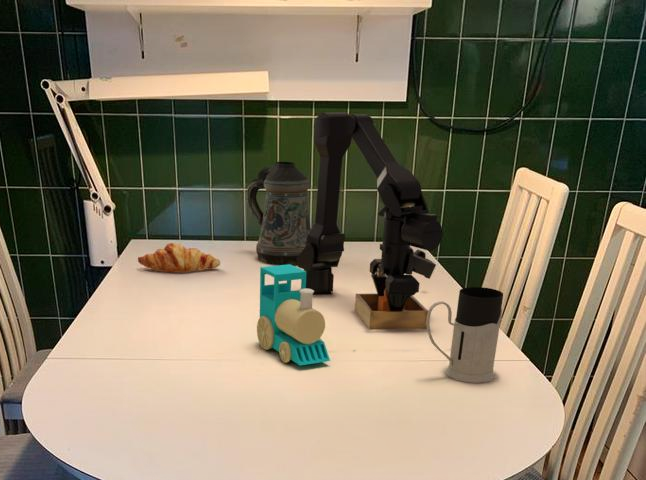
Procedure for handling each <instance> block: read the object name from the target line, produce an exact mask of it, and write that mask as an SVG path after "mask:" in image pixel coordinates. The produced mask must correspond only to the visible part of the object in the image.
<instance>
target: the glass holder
mask: <svg viewBox="0 0 646 480" xmlns="http://www.w3.org/2000/svg"><path fill="white" fill-rule="evenodd" d="M503 301H504V292H502V290H501V291H500V290H498V289H495V288H490V287H482V286H468V287H462V288H461V289H459V292H458V300H457V308H456V316H455V318H454V322H452V317H453V316H452V314H453V313H452V308H451V306H450V305H449V304H448V303H447V302H445V301H437V302H434V303H433V304H432V305H431V306H430V307H429V309H427V310H428V314H427V329H426V332H427V334H428V338H429V340H430V343H431V344H432V345H433V346H434V347H435V348H436V349H437V351H439V353H441V354H442V355H444V357H445V358H446V359H447V360H448V361H449V362H448V366H447V368H446V370H445V374H446V375H447V377H448V378H451V379H453V380H456V381H459V382H463V383H470V384H471V383H473V384H479V383H487V382H491V381H492V380H494V379H495V377H496V376H495V373H494V366H495V359H496V353H497V345H498V339H499V333H500V327H501V320H502V314H503V308H502V306H503ZM439 305H444V306H445V307H446V308H447V312H448V314H447V315H448V316H447V321H448V324H449V325H451V326H453V331H452V339H451V347H450V355H448V354H447V353H446V352H445V351H443V350H442V349H441V348H440V347H439V346H438V344H437V343H436V342H435V340H434V338H433V335H432V331H431V326H430V323H431V322H430V321H431V314H432V311H433V310H434V308H435V307H436V306H439Z"/></svg>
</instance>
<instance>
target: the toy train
mask: <svg viewBox="0 0 646 480" xmlns="http://www.w3.org/2000/svg"><path fill="white" fill-rule="evenodd" d="M259 270H260V271H259V318H258V320H257V324H256V335H257V340H258V342H259V345H260V347H261V348H262V349H263V350H266V351H267V350H271V349H274V350H275V351H276V352H277V353H279V357H280V359H281V361H282V362H283V363H285V364H286V363H289V362H290V361H292V362H294V363H295V364H296V365H298V366H306V365H311V364H313V365H314V364H319V363H326V362H331V359H330V355H329V353H328V352H329V351H328V349H327V346H326V343H325V341H324V340H323V339H322V338H321V337H322V336H323V334H324V332H325V329H326V319H325V316H324V315H323V314H322V313H321V312H320V310H319V311H318V310H317V309H316V308H313V297H314V295H313V293H314V290H312V289H306V271H304V269H302V268H299V267H298V266H296V265H295V266H293V265H291V264H288V265H269V266H260V269H259ZM266 275H268V276H270V277H272V278H273V284H265V283H266V282H265V281H266ZM298 280H301V282H300V289H299V290H292V281H298ZM280 282H281V283H280Z"/></svg>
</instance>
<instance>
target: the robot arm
mask: <svg viewBox="0 0 646 480" xmlns="http://www.w3.org/2000/svg"><path fill="white" fill-rule="evenodd" d="M352 140H353V142H354V143H355V144H356V147H357V148H358V149H359V151H360V153H361V154H362V156H363V157H364V159H365V161H366V162H367V165H368V166H369V167H370V169H371V170H372V172H373V174H374V175H375V178H376V191H377V192H378V195H379V197H380V200H381V202H382V203H383V205H384V207H382V208H381V209H380V210H379V211H378V212H377V216H379V217H382V218H384V222H383V232H382V243H380V244H379V250H380V251H381V257H380V258H373V260H372V261H371V262H370V263H369V270H368V271H369V273H370V276H371V279H372V282H373V285H374V287H375V290H376V294H378V297H379V296H384V290H385V288H386V290H385V293H386V297H387V301H388V305H389V309H390V311H402V310H403V307H404V305H405V302H406V300H407V299H408V298H409V297H410V296H415V295H416V294H417V293H419V291H420V282H419V280H418V279H416V278H415V277H414V276H413V273H414V274H415V273H416V274H418V275H421V276H423V277H424V278H426V279H428V280H430V279H431V278H432V275H433V273H434V272H435V271H434V270H435V268H436V266H437V264H436V263H435V262H434V261H432V260H430V259H429V258H427V255H426V252H425V251H428V252H431V251H435V250H436V249H437V248H438V247H439V246H440V245H441V243H442V240H443V236H444V231H443V227H442V225H441V223H440V222H439V221H438V215H437V214H435V213H430V210H429V208H428V203H427V202H426V199H425V197H424V194H423V191H422V185H421V183H420V181H419V179H418V178H417V177H416V176H415V174H413V172H412V171H411V170H409V169H408V168H406V167H404V166H402V165H401V164H400V163H399V162H398V161H397V160H396V158H395V156H394V155H393V153H392V152H391V150H390V149H389V147H388V145H387V144H386V141H384V139H383V138H382V136H381V134H380V132H379V131H378V130H377V127H376V126H375V124H374V120H373V118H372V116H371V115H368V114H367V113H364V114H363V113H360V114H359V113H357V114H355V113H354V114H353V113H352V114H349V113H348V112H345V111H342V112H321V113H319V114H318V116H317V117H315V118H314V121H313V144H314V146H315V148H316V150H317V152H318V155H319V164H318V177H317V190H316V192H317V193H316V205H315V219H314V224H313V225H312V227H311V230H310V232H309V233H308V235H307V241H306V246H305V248H304V249H303V250H302V252H301V253H300V254H299V256H298V257H297V264H298V265H297V268H299V269H301V270H304V271H306V289H312V290H314V293H313V296H332V295H333V292H334V280H335V279H334V278H335V275H334V273H333V268H338V266H339V263H340V260H341V258H342V255H343V252H345V245H344V244H345V239H346V235H345V233H343V232H341V230H340V228H339V226H338V215H339V203H340V191H341V182H342V170H343V159H344V156H345V155H346V153H347V151H348V150H349V148H350V146H351V144H352ZM429 213H430V214H429ZM412 247H414V248H418V249H416V250H414V249H413V248H412ZM423 250H424V251H423Z"/></svg>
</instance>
